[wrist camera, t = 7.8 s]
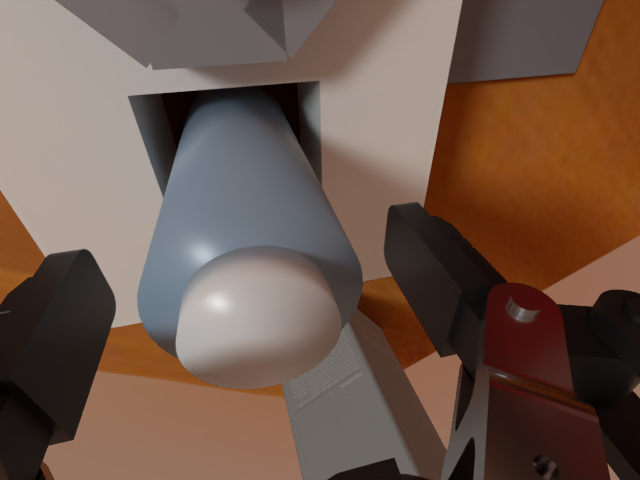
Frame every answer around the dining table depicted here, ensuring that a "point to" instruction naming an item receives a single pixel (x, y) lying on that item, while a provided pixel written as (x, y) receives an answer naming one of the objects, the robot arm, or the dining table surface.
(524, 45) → the mat
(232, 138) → the cartridge
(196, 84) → the housing
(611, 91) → the dining table surface
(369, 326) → the skincare box
